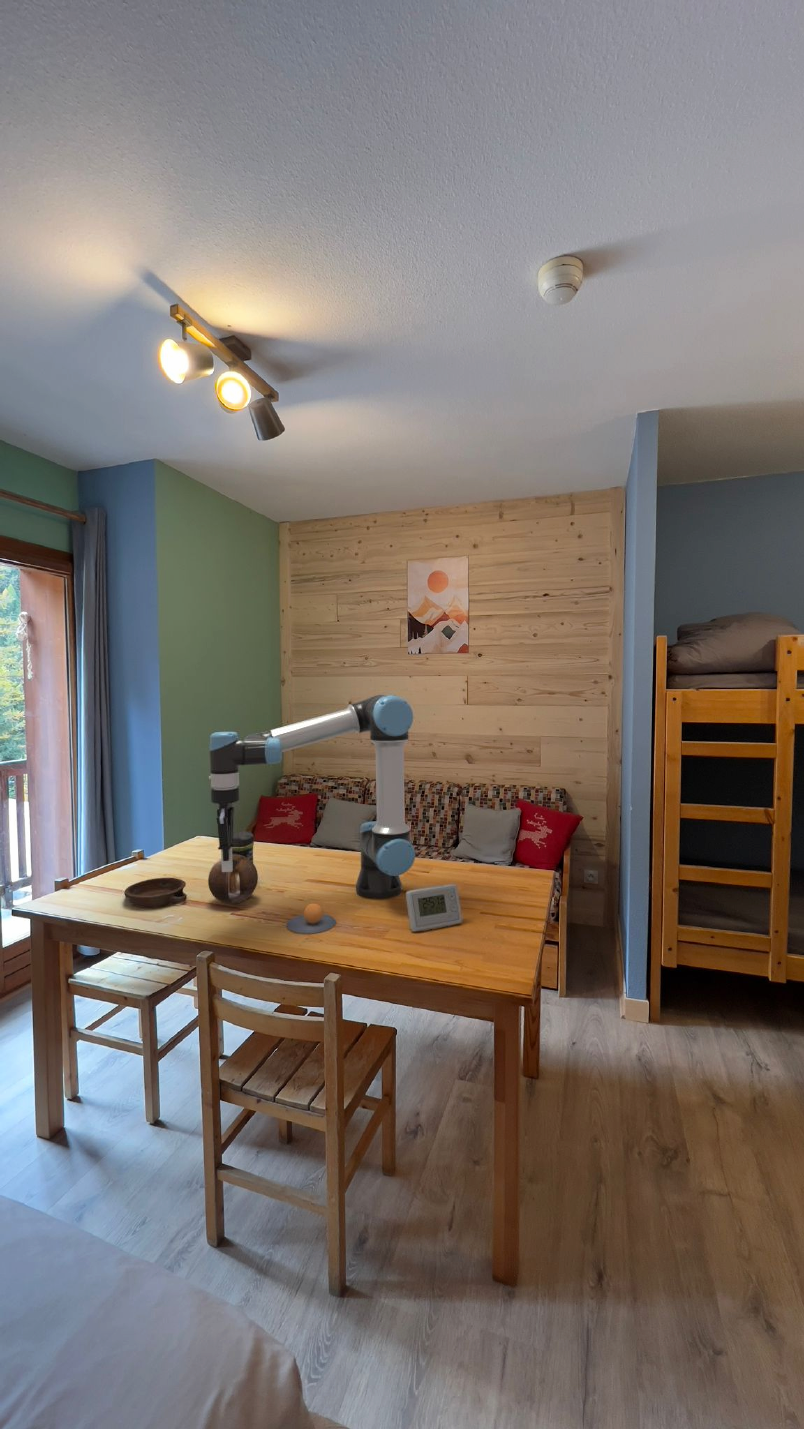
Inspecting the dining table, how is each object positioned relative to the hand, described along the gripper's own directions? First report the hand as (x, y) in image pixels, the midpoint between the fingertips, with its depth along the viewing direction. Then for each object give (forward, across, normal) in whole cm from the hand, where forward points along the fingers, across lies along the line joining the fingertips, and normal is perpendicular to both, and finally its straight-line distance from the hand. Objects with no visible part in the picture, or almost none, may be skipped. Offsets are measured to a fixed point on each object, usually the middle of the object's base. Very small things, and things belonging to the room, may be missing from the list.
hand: (227, 870), depth 166 cm
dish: (+17, -25, -27) cm, 40 cm away
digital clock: (+17, +6, +58) cm, 60 cm away
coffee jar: (+17, -34, -2) cm, 38 cm away
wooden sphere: (+17, -20, -2) cm, 26 cm away
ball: (+14, 0, +24) cm, 27 cm away
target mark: (+16, 0, +23) cm, 28 cm away
